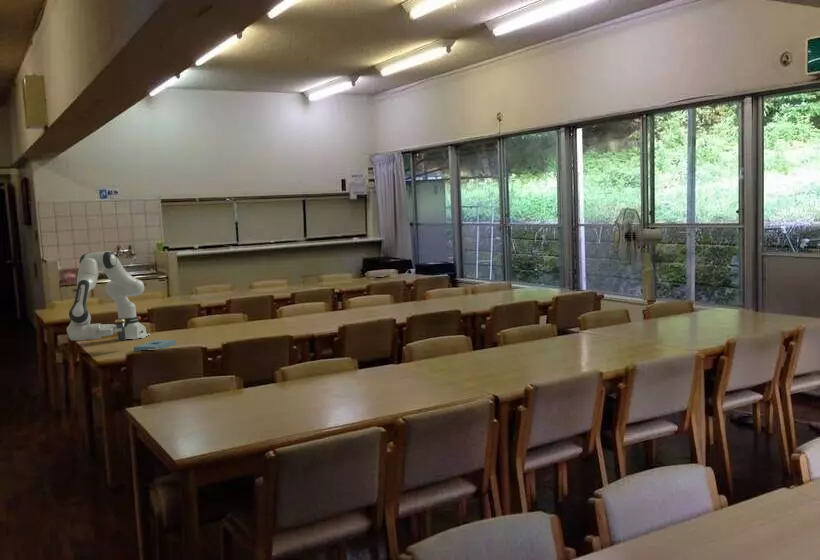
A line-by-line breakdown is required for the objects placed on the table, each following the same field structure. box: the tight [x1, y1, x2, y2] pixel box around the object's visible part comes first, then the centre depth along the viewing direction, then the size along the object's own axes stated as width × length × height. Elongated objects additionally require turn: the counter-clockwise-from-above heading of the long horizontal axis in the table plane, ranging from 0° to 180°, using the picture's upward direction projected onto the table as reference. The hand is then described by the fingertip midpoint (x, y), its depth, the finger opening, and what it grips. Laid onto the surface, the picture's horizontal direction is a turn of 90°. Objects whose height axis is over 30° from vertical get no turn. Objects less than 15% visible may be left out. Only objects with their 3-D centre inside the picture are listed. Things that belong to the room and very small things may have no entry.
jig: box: [133, 339, 177, 352], centre depth 433 cm, size 22×14×2 cm, turn 167°
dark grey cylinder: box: [114, 319, 127, 342], centre depth 427 cm, size 6×6×12 cm
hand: (122, 328), depth 428 cm, fingers closed on dark grey cylinder, 4 cm apart
